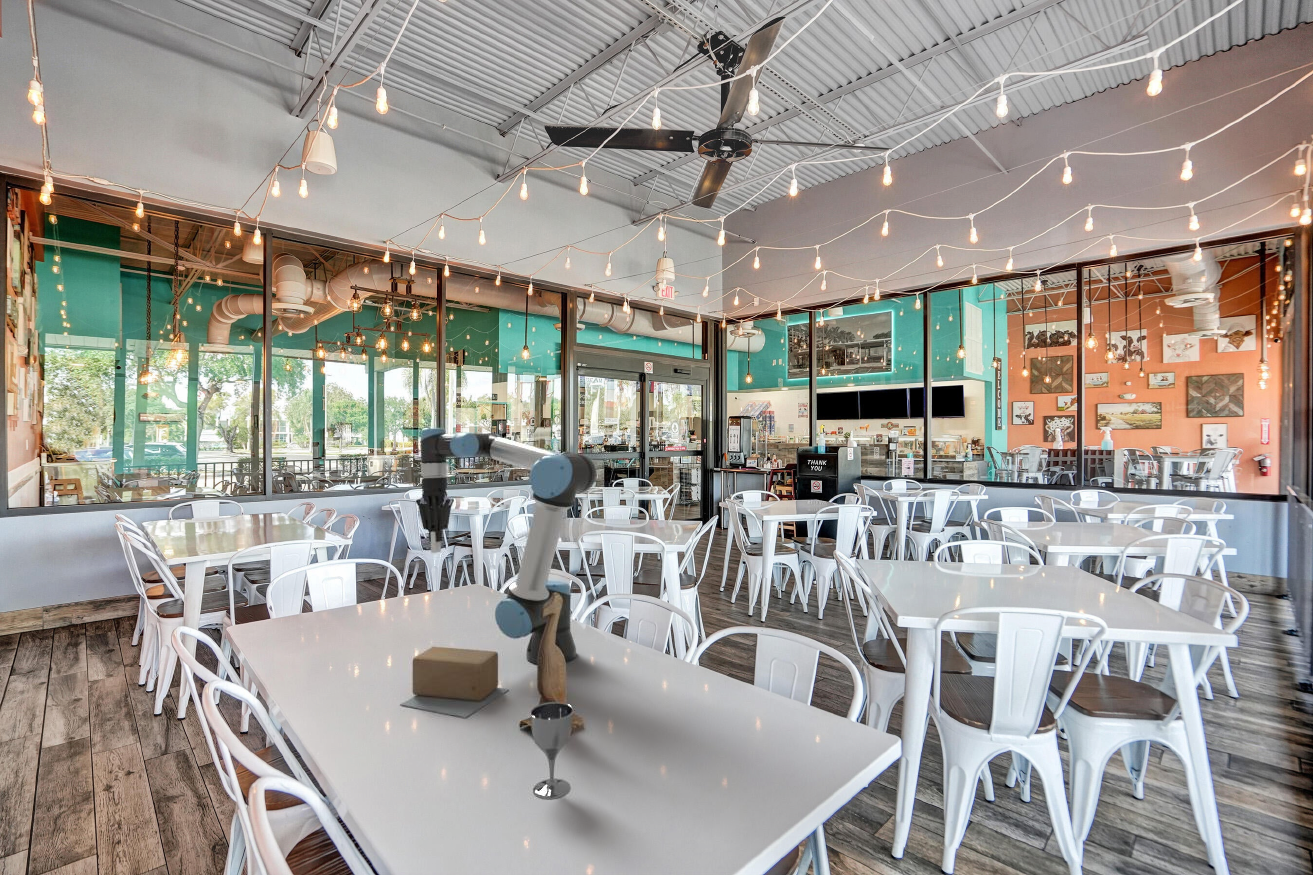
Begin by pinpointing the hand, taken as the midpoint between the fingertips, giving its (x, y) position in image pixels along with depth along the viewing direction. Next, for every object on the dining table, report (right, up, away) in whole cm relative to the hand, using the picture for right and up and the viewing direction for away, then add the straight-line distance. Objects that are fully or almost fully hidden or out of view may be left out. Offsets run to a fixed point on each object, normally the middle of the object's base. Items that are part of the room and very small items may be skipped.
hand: (436, 552), depth 197 cm
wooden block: (+6, -26, -29) cm, 40 cm away
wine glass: (+49, -32, -77) cm, 97 cm away
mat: (+17, -32, -34) cm, 50 cm away
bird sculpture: (+45, -32, -52) cm, 75 cm away
